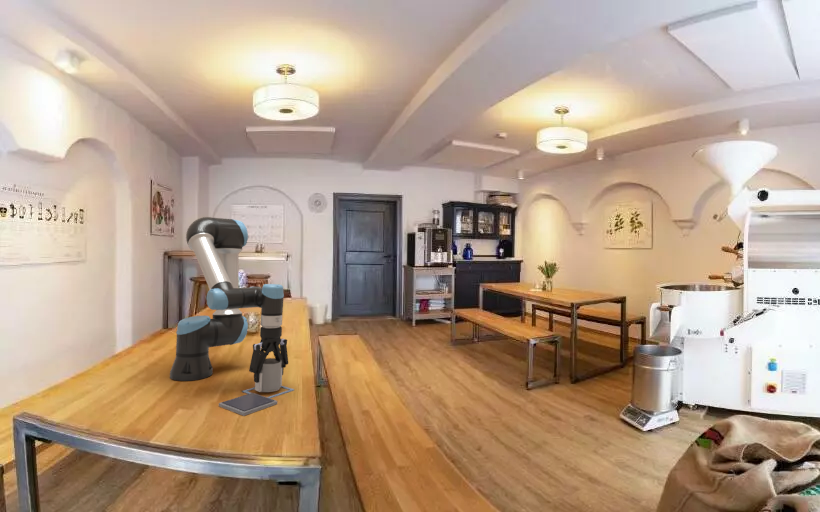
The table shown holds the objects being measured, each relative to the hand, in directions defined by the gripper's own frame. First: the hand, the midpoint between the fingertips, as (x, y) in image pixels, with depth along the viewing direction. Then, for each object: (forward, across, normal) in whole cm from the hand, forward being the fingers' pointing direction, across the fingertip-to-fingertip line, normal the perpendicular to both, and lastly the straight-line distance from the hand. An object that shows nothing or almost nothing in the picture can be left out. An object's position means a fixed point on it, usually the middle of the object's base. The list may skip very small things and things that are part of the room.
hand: (268, 387), depth 149 cm
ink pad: (+1, -13, -6) cm, 14 cm away
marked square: (+1, 0, 0) cm, 1 cm away
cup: (0, 0, 0) cm, 0 cm away
